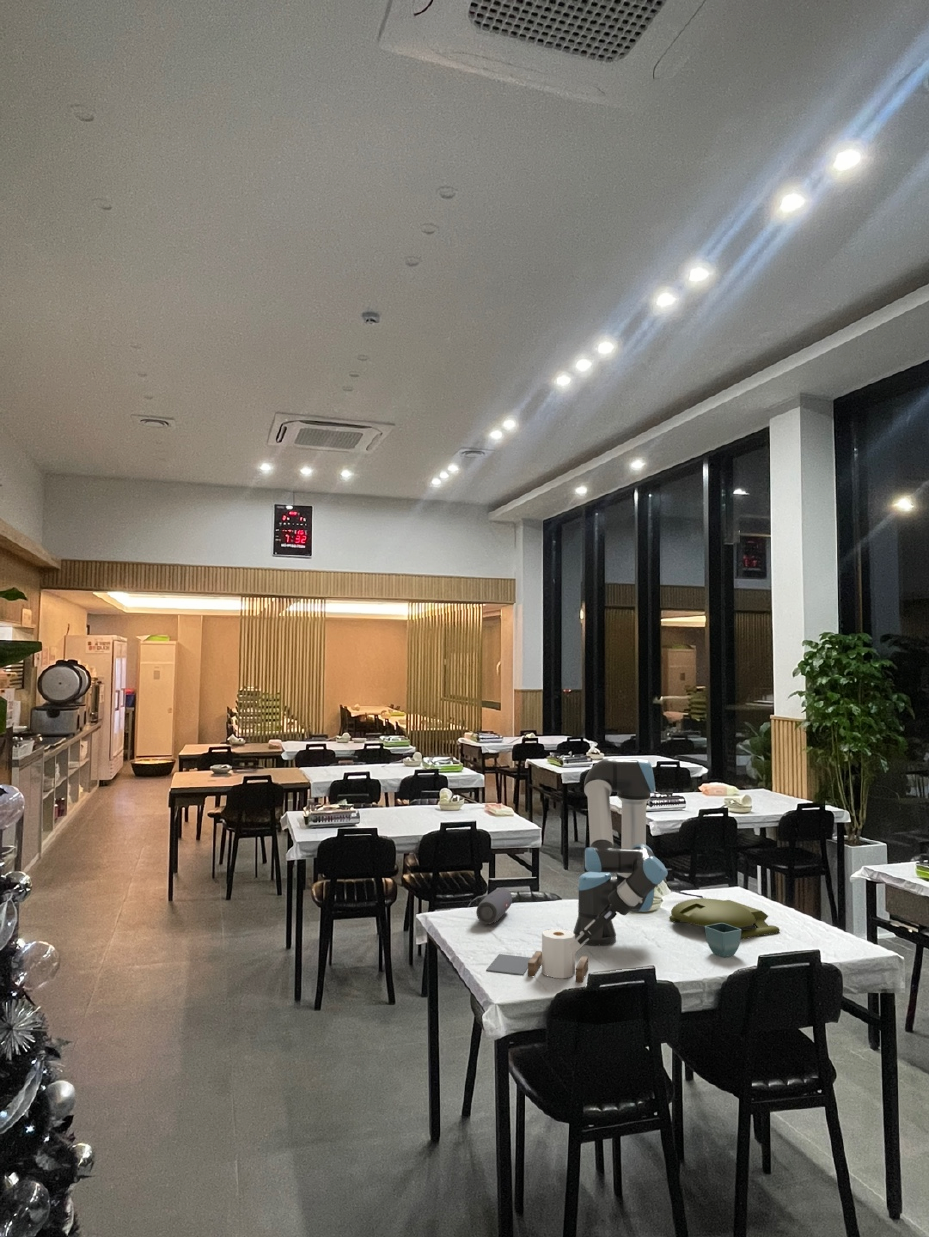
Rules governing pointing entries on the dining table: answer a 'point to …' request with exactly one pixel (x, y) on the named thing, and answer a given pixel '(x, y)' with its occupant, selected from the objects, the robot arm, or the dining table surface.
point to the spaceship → (722, 915)
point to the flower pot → (723, 939)
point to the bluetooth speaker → (494, 905)
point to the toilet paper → (558, 953)
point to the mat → (509, 964)
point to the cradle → (537, 962)
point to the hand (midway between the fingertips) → (577, 942)
